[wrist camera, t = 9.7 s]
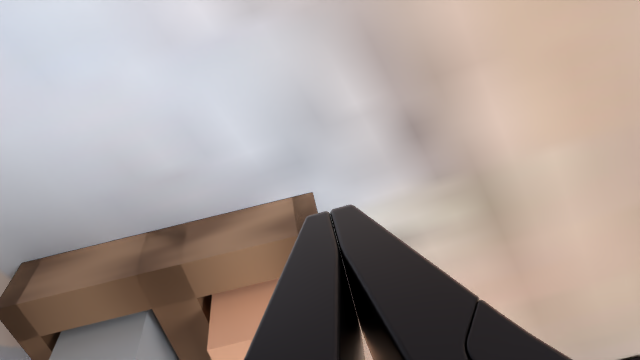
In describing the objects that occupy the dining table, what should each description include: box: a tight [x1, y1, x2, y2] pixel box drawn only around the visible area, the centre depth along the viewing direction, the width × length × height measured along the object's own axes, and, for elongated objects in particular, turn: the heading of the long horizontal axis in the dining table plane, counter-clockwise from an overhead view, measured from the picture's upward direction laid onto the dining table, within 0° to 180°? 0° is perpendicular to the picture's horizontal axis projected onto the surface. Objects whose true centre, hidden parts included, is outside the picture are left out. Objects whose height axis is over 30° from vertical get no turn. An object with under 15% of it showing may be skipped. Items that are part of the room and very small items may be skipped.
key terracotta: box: [207, 278, 279, 360], centre depth 22 cm, size 4×4×4 cm
